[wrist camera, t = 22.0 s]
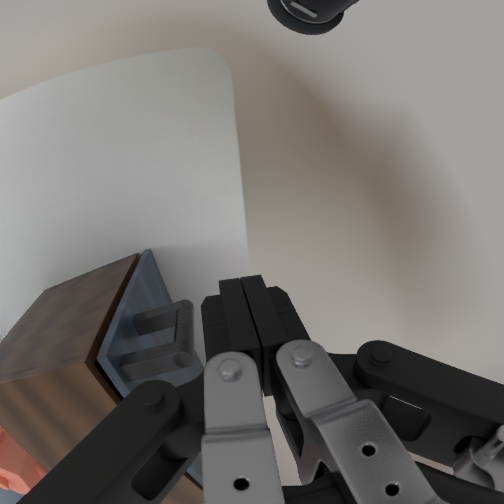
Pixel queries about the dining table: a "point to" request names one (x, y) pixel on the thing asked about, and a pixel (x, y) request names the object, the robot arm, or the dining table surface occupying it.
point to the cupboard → (67, 369)
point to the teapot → (18, 466)
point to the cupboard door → (151, 338)
